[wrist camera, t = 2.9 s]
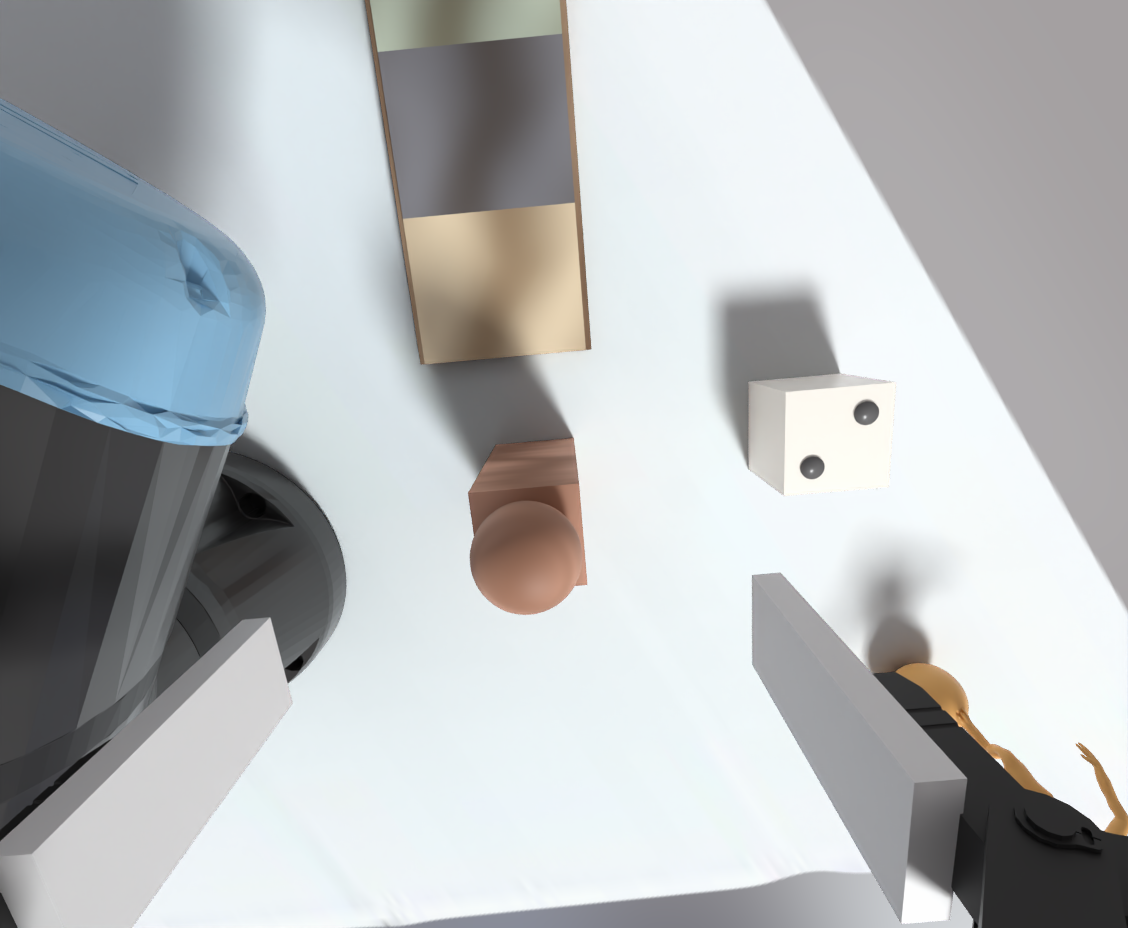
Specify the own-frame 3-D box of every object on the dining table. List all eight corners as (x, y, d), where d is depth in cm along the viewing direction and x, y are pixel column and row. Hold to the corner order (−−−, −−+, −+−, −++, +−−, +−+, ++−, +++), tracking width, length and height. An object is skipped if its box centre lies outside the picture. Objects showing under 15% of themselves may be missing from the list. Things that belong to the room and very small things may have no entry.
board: (424, 363, 28) (419, 364, 27) (351, -119, 23) (341, -141, 22) (590, 348, 28) (591, 349, 27) (554, -141, 23) (554, -163, 22)
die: (748, 468, 30) (784, 496, 25) (747, 381, 29) (786, 392, 24) (835, 461, 30) (889, 487, 25) (839, 373, 29) (897, 382, 24)
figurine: (951, 620, 32) (1171, 783, 21) (992, 688, 33) (1221, 878, 22) (832, 688, 33) (978, 879, 22) (876, 751, 35) (1035, 964, 23)
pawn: (504, 518, 30) (466, 645, 18) (495, 444, 29) (448, 526, 17) (579, 511, 30) (592, 635, 18) (573, 438, 29) (582, 515, 17)
